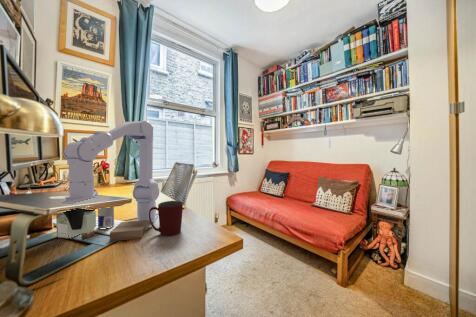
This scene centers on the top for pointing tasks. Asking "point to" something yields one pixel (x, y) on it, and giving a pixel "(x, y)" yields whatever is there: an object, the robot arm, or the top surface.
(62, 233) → the syrup box
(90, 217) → the sage block
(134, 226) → the walnut base
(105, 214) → the energy drink
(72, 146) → the robot arm
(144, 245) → the top surface
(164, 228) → the mug
